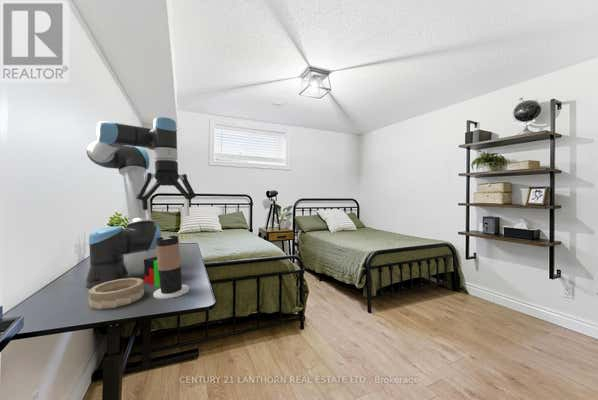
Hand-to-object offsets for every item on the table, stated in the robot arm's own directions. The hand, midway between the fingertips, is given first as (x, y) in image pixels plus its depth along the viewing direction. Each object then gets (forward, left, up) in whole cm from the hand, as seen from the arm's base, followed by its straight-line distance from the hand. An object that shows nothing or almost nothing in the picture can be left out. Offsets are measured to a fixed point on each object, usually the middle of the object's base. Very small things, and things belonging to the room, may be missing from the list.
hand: (168, 217), depth 94 cm
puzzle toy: (-17, +3, -29) cm, 33 cm away
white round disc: (0, 0, -28) cm, 28 cm away
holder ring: (-9, -15, -28) cm, 33 cm away
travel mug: (0, 0, -28) cm, 28 cm away
